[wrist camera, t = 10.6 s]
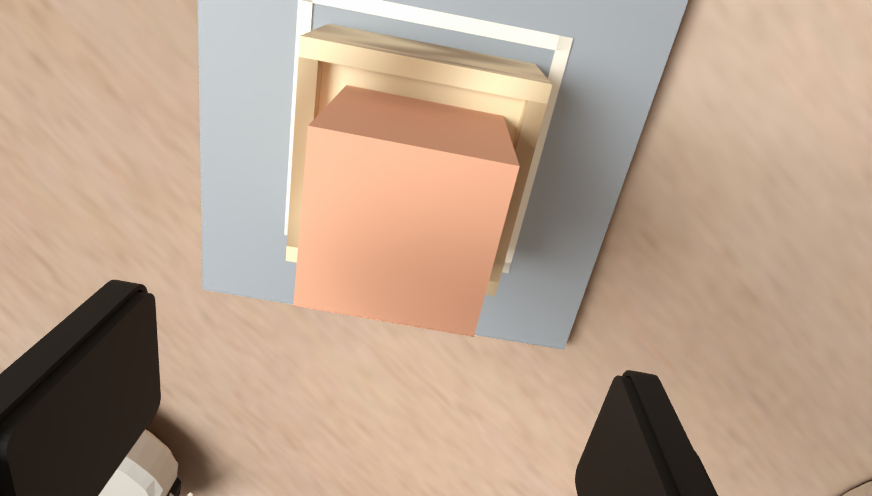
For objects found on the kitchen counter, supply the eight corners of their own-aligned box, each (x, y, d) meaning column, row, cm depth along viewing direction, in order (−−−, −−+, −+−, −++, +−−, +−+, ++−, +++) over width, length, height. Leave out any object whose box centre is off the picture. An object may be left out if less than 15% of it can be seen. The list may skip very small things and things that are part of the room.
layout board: (697, -53, 22) (708, -54, 21) (560, 339, 31) (564, 350, 30) (205, -156, 21) (193, -162, 20) (210, 280, 30) (201, 290, 29)
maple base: (535, 63, 24) (552, 84, 19) (489, 246, 28) (495, 296, 24) (328, 23, 23) (299, 35, 19) (312, 215, 27) (285, 260, 23)
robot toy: (133, 536, 42) (224, 442, 36) (97, 598, 38) (192, 504, 32) (-25, 460, 39) (45, 340, 33) (-82, 519, 35) (-15, 397, 29)
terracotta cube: (503, 115, 21) (519, 166, 15) (469, 253, 24) (473, 336, 18) (346, 85, 20) (307, 125, 15) (330, 228, 23) (293, 305, 18)
